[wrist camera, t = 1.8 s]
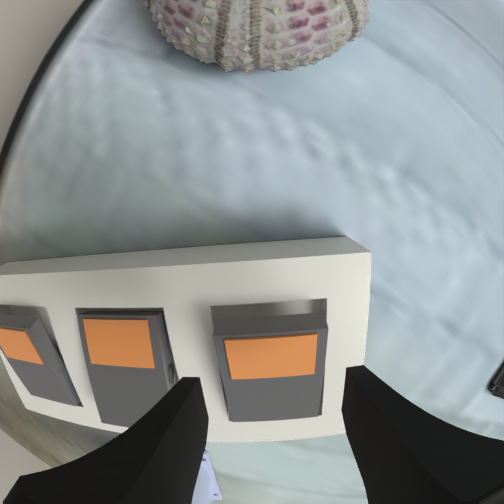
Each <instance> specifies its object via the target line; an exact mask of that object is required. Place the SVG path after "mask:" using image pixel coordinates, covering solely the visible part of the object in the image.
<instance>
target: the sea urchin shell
mask: <svg viewBox="0 0 504 504" xmlns="http://www.w3.org/2000/svg"><path fill="white" fill-rule="evenodd" d="M368 2H369V0H144V2H143V4H142V5H144V6H145V7H147V8H148V12H149V13H151V14H152V21H154V22H155V23H157V29H160V30H161V35H162V36H165V37H166V40H167V42H171V43H173V45H174V46H175V48H176V49H177V50H183V51H184V52H185V53H186V54H188V55H189V56H190V57H192V58H197V59H199V60H200V61H201V62H205V63H206V64H208V63H213V62H214V63H217V64H218V65H220V66H221V67H222V68H223V69H224V71H225V72H227V71H228V72H229V71H233V70H241V71H243V72H244V73H245V74H247V75H249V74H250V73H252V72H254V71H256V70H259V69H268V70H270V71H273V72H275V71H278V70H281V69H282V70H287V71H292V70H293V69H295V68H296V67H297V66H307V65H308V64H313V65H315V64H316V63H317V61H319V60H322V59H324V57H331V55H332V54H333V53H334V52H338V50H339V49H340V48H341V47H342V46H344V45H346V43H347V42H349V41H354V40H355V37H360V36H362V33H361V30H362V29H364V28H365V24H366V23H368V22H369V18H368V16H367V15H368V14H369V11H368V9H367V4H368Z"/></svg>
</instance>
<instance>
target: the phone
mask: <svg viewBox="0 0 504 504" xmlns="http://www.w3.org/2000/svg"><path fill="white" fill-rule="evenodd" d="M488 390H489V391H490V392H491V394H492V395H494V396H497V397H500V398H503V399H504V364H503V365H502V367H501V368H500V370H499V371H498V372H497V374H496V375H495V377H494V378H493V380H492V381H491V383H490V385H489V388H488Z"/></svg>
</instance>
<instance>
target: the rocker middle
mask: <svg viewBox="0 0 504 504" xmlns="http://www.w3.org/2000/svg"><path fill="white" fill-rule="evenodd" d="M77 320H78V326H79V332H80V338H81V343H82V348H83V353H84V358H85V362H86V367H87V371H88V375H89V380H90V384H91V387H92V391H93V395H94V399H95V402H96V406H97V409H98V412H99V416H100V419H101V422H102V423H105V424H110V425H116V426H122V427H128V428H130V427H131V426H132V425H133V424H134V423H136V422H137V421H138V420H139V419H140V418H141V417H143V416H144V415H145V414H146V413H147V412H148V411H149V410H150V409H151V408H152V407H153V406H154V405H155V404H156V403H157V402H158V401H159V400H160V399H161V398H162V397H163V396H164V395H165V394H166V393H167V392H168V391H169V390H170V389H171V388H172V387H173V386H174V385H175V384H174V367H173V365H172V363H171V359H170V352H169V345H168V338H167V331H166V323H165V315H164V311H86V312H83V313H80V314H78V315H77Z"/></svg>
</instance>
